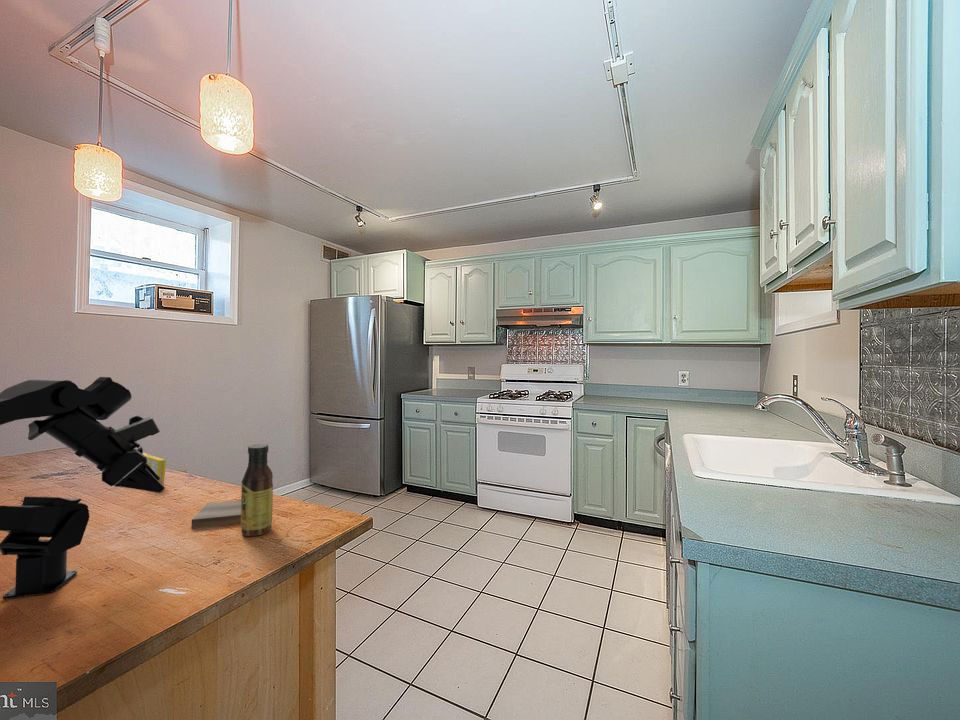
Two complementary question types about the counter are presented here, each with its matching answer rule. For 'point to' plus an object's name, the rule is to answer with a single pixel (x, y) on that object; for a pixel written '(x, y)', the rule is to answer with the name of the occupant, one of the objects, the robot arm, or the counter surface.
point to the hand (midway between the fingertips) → (160, 485)
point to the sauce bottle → (257, 493)
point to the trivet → (218, 514)
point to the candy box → (157, 466)
